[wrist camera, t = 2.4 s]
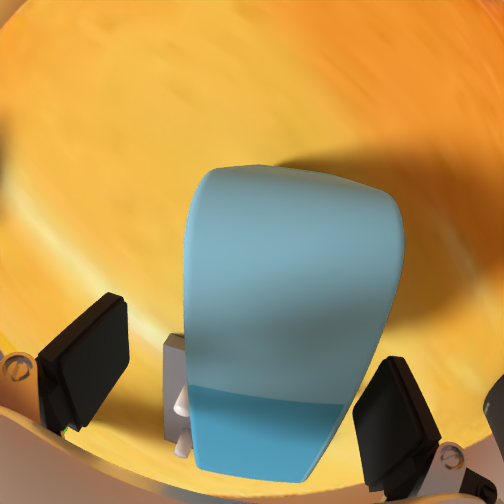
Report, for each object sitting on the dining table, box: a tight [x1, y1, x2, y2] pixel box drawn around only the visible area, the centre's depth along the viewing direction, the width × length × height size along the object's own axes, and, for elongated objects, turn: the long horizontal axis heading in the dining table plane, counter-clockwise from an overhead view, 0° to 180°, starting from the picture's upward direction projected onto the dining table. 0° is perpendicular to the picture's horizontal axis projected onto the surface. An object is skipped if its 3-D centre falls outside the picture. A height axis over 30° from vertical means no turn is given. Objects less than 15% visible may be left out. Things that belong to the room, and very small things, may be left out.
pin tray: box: [163, 334, 194, 458], centre depth 21 cm, size 14×15×4 cm
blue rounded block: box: [183, 164, 405, 483], centre depth 12 cm, size 12×4×12 cm, turn 174°
